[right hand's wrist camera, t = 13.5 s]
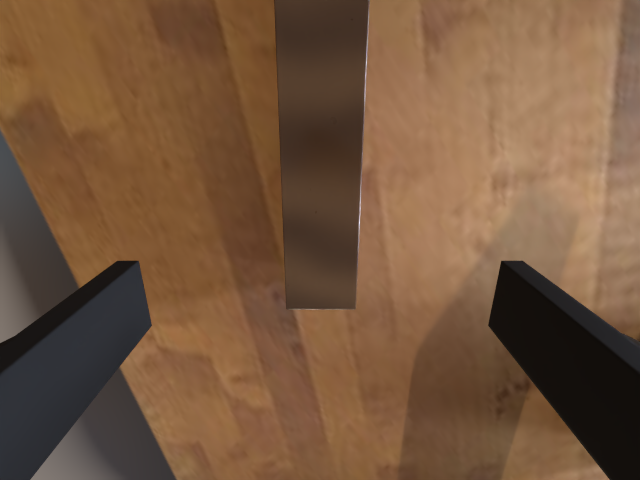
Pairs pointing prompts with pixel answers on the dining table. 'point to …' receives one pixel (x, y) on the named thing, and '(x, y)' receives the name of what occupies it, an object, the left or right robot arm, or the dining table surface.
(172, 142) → the dining table surface
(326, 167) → the bar
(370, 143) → the dining table surface
